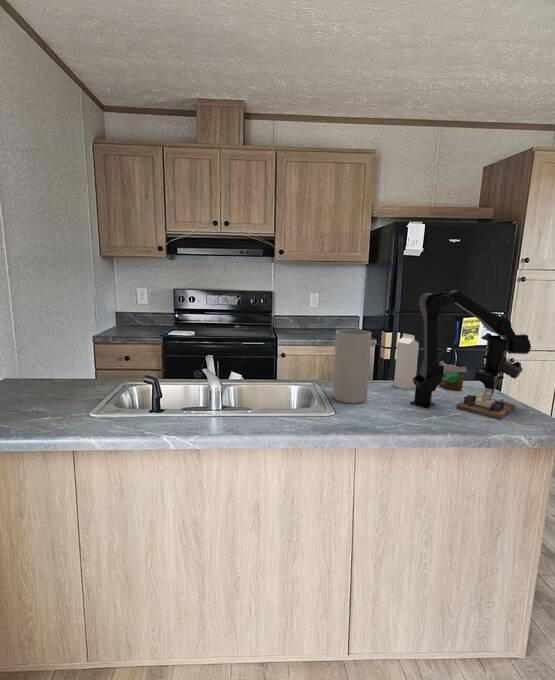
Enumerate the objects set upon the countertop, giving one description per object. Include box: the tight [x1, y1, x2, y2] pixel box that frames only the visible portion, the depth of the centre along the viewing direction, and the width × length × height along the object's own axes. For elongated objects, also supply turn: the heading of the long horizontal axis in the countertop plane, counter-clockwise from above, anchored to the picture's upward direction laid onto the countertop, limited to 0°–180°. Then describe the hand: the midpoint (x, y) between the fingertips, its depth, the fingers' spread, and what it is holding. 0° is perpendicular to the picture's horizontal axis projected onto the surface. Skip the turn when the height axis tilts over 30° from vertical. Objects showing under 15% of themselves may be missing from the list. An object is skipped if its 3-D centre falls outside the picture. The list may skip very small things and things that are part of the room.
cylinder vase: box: [332, 328, 372, 405], centre depth 144 cm, size 12×12×25 cm
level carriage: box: [475, 386, 496, 408], centre depth 138 cm, size 5×5×6 cm
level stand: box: [456, 394, 516, 420], centre depth 139 cm, size 16×14×4 cm
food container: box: [439, 360, 467, 391], centre depth 163 cm, size 12×6×10 cm, turn 25°
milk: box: [393, 333, 420, 390], centre depth 161 cm, size 6×6×22 cm
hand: (490, 395), depth 141 cm, fingers closed
